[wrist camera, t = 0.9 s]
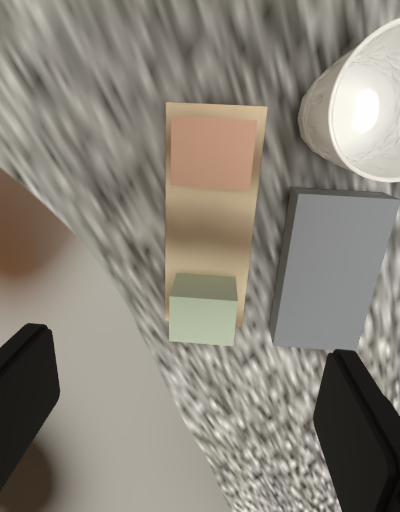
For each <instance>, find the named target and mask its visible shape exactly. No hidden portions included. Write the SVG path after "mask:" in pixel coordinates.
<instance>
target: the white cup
mask: <svg viewBox="0 0 400 512" xmlns="http://www.w3.org/2000/svg"><path fill="white" fill-rule="evenodd" d="M297 120H298V125H299V130H300V135H301V138H302V139H303V141H304V142H305V143H306V144H307V146H308V147H309V148H310V149H311V151H312V152H315V153H317V154H319V155H320V156H321V157H323V158H324V159H326V160H328V161H330V162H331V163H334V164H336V165H338V166H340V167H342V168H345V169H347V170H349V171H351V172H354V173H356V174H358V175H360V176H362V177H364V178H367V179H370V180H374V181H379V182H400V18H398V19H395V20H393V21H391V22H389V23H387V24H385V25H384V26H382V27H380V28H379V29H377V30H376V31H374V32H373V33H372V34H370V35H369V36H368V37H367V38H365V39H364V40H363V41H362V42H360V43H359V44H358V45H356V46H355V47H354V48H352V49H351V50H350V51H348V52H347V53H346V54H345V55H343V56H342V57H341V58H340V59H338V60H337V61H336V62H335V63H334V64H333V65H331V66H330V67H329V68H328V69H327V70H326V71H325V72H324V73H323V74H322V75H321V76H320V77H319V78H317V79H316V80H315V81H314V82H313V84H312V85H311V86H310V88H309V89H308V91H307V92H306V94H305V95H304V96H303V98H302V100H301V105H300V109H299V114H298V118H297Z"/></svg>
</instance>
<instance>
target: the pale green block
mask: <svg viewBox="0 0 400 512" xmlns="http://www.w3.org/2000/svg"><path fill="white" fill-rule="evenodd" d="M237 305H238V297H237V286H236V277H227V276H213V275H199V274H185V273H177V274H176V277H175V280H174V284H173V287H172V290H171V293H170V296H169V341H175V342H187V343H200V344H212V345H225V346H233V343H234V333H235V324H236V315H237Z"/></svg>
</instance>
